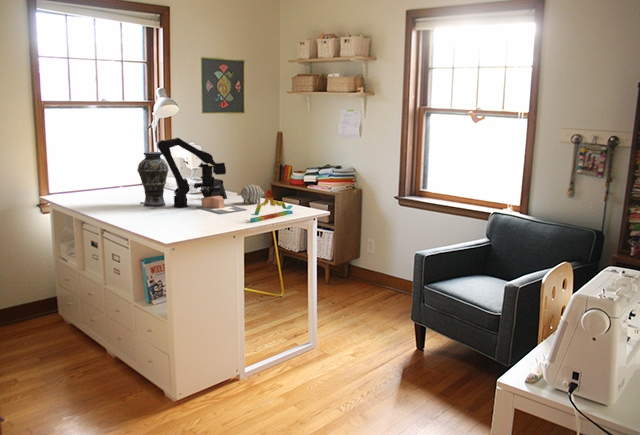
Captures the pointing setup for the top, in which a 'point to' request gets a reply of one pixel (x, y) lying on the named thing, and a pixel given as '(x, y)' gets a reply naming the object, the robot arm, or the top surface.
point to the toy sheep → (251, 194)
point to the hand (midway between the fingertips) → (207, 202)
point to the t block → (213, 202)
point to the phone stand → (220, 193)
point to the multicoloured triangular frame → (272, 203)
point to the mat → (223, 209)
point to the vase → (153, 178)
